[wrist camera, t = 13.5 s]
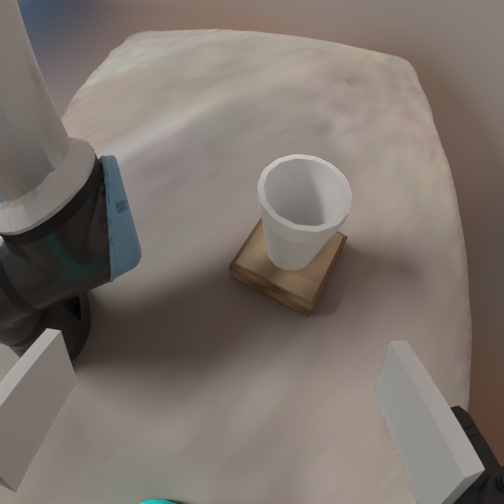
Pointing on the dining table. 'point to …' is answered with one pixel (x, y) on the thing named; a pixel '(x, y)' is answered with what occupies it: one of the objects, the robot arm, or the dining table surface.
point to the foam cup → (301, 208)
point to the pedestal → (285, 271)
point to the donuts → (157, 502)
